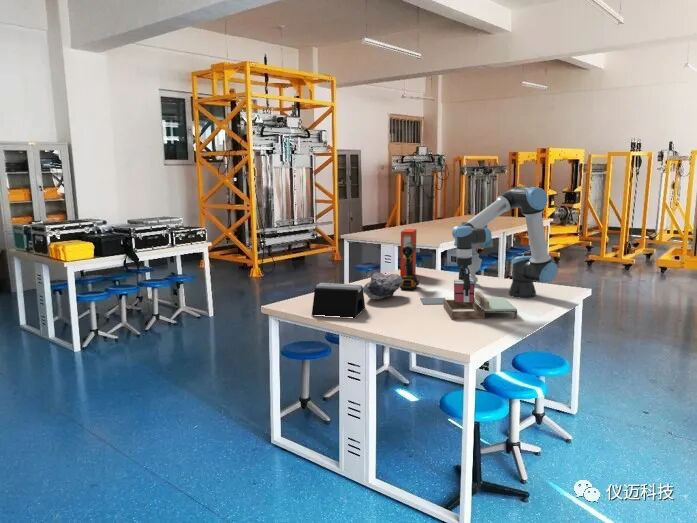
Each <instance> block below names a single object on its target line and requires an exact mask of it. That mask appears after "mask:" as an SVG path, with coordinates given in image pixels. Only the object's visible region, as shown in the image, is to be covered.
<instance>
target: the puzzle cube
mask: <svg viewBox="0 0 697 523" xmlns="http://www.w3.org/2000/svg"><path fill="white" fill-rule="evenodd" d="M463 288H464V282H463V280H459V279H454V281H453V300H454V303H474V298H475V287H474V280H470V289H469V302H464V290H463Z"/></svg>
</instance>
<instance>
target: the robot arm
mask: <svg viewBox="0 0 697 523" xmlns="http://www.w3.org/2000/svg"><path fill="white" fill-rule="evenodd" d="M547 203H548V194H547V192H546V191H545V190H544V189H543V188H542V187H537V186H521V185H520V186H518V185H517V186H513V187H511V188H510V189H508V190H506V191H504V192H502V193H501V194H500V195H498V196H497V197H496V200H495V201H493V202H492V203H490V204H489V205H488V206H487V207H485V208H484V209H482V210H481V211H480V212H478V213H477V214H476V215H474V216H473V217H472V218H471V219H470V220H468V221H465V222H466V223H465V224H464V225H462V226H461V225H456V226H454V227H453V228H452V231H451V232H452V233H451V234H452V237H453V239H454V240H455V239H457V247H456V250H455V253H456V256H457V257H456V265H457V266H459V267H458V268H459V270H458V280H463V282H464V288H463V290H464V302H469V289H470V270H469V269H468V265H471V264H472V257H471V256H472V244H479V243H486V242H489V241H490V240H491V238H492V230H490V229H489V228H488V227H487V228H483V227H484V226H486V225H487V226H488V224H490V223H491V222H492V221H494V220H495V219H496V218H498V217H500V215H502V214H504V213H505V212H509V211H510V210H512V209H517V208H518V209H520V211H521V214H522V216H525V217H524V218H525V224H526V228H527V229H526V230H527V237H528V243H529V249H530V255H521V256H518V255H517V256H515V257H514V258H513V260H512V280H511V281H512V282H511V284H510V287H509V290H508V296H510V297H512V296H513V297H512V298H518V297H520V298H519V299H531V298H535V297H536V296H537V291H536V288H535V284H534V281H535V282H539V283H545V284H547V283H549V284H550V283H551V282H553V281H554V280H555V279H556V276H557V275H558V272H559V270H558V265H557V264H556V263H555V262H553V260H552V256H551V255H550V254H549V253H548V246H547V238H546V233H545V232H546V231H545V226H544V219H543V212H544V211H545V208H546V206H547Z"/></svg>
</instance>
